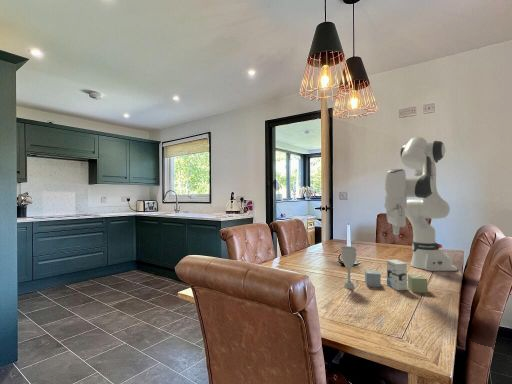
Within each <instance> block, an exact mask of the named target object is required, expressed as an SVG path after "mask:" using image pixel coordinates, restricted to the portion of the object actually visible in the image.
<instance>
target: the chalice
mask: <svg viewBox="0 0 512 384" xmlns="http://www.w3.org/2000/svg"><path fill="white" fill-rule="evenodd" d="M340 249H341V260H342V262H343V264H344V266H345V268H347V276H346V277H347V280H346V281H345V282H344V284H343V288H345V289H347V290H348V289H349V290H354V289H355V288H356V286H355V284H354V282H353V281H351V277H352V276H351V273H352V272H351V269H352V268H353V267H354V265H355V262H356V260H357V249H358V248H357V247H355V246H340Z"/></svg>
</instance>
